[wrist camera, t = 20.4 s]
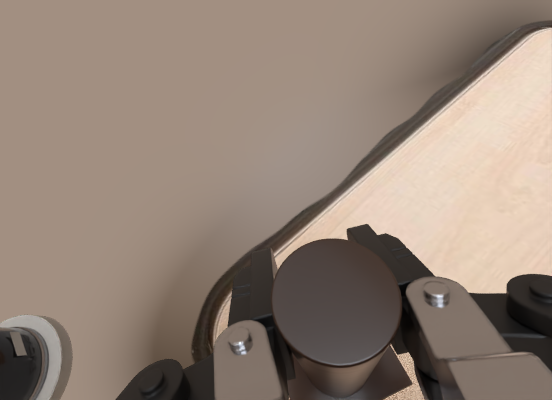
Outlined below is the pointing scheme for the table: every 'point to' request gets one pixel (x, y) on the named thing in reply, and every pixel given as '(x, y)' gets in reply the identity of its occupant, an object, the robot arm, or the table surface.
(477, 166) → the table surface
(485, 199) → the table surface
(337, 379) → the brown peg on base
